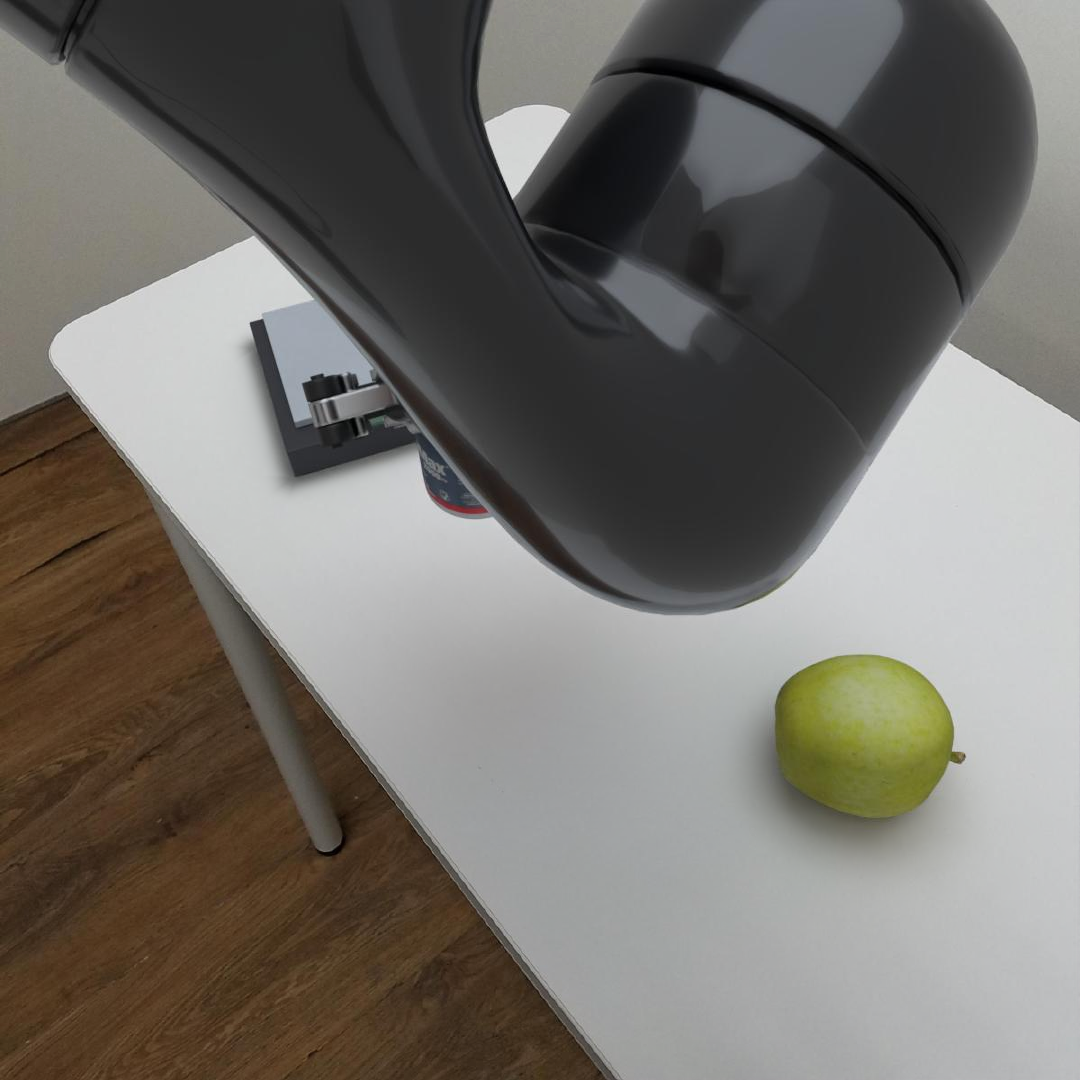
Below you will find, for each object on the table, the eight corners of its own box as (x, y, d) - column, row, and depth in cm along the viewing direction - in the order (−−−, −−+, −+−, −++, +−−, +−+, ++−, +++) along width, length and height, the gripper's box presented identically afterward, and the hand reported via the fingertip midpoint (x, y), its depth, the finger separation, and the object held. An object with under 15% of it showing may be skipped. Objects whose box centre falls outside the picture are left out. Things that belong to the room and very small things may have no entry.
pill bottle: (413, 455, 54) (385, 318, 47) (514, 429, 55) (502, 289, 48) (440, 535, 51) (415, 401, 44) (547, 506, 52) (539, 369, 45)
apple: (950, 852, 54) (996, 783, 48) (762, 833, 55) (783, 763, 49) (936, 711, 59) (976, 631, 52) (763, 696, 60) (782, 616, 53)
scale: (295, 477, 71) (284, 446, 68) (257, 347, 78) (246, 315, 76) (501, 417, 73) (498, 385, 71) (445, 296, 81) (440, 263, 78)
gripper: (712, 176, 34) (582, 258, 51) (259, 291, 32) (276, 338, 49) (768, 409, 36) (623, 416, 52) (334, 537, 33) (326, 501, 50)
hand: (456, 378), depth 50 cm, fingers closed on pill bottle, 5 cm apart
